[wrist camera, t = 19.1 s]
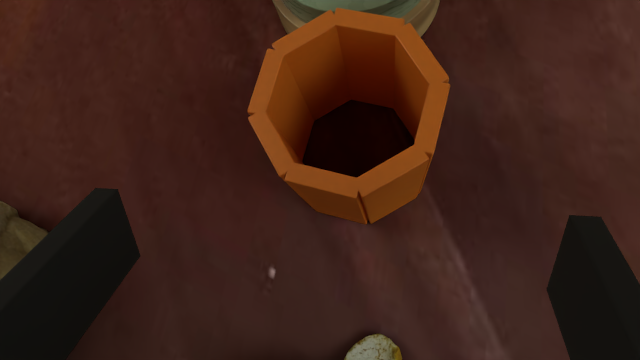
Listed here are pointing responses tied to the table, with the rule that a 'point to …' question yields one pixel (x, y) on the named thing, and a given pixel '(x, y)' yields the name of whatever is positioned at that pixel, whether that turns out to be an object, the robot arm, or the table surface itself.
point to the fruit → (374, 349)
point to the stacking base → (416, 17)
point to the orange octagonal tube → (338, 88)
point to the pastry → (16, 238)
